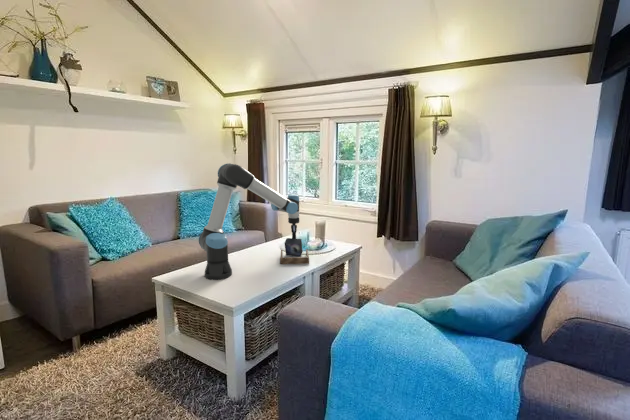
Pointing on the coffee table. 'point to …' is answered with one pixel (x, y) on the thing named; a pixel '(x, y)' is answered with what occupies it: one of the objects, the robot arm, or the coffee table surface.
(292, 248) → the small box
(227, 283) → the coffee table surface
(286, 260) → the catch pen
